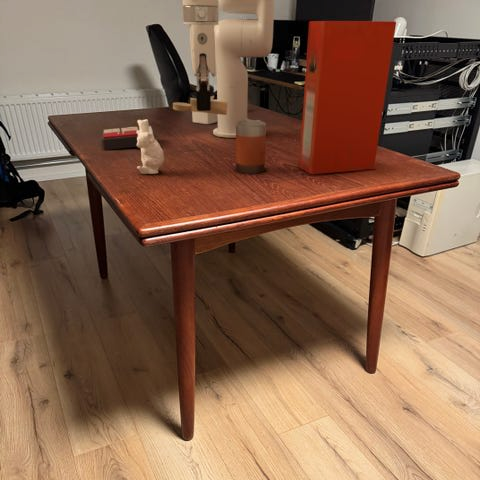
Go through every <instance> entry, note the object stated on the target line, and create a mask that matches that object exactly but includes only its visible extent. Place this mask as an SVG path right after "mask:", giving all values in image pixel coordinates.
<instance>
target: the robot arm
mask: <svg viewBox="0 0 480 480" xmlns="http://www.w3.org/2000/svg"><path fill="white" fill-rule="evenodd" d="M219 8H220V10H221V11H222V12H223V13H228V14H235V15H237V14H240V15H243V14H244V15H246V14H247V15H248V14H249V15H256V16H257V18H256V19H255V18H253V19H250V18H248V19H246V18H245V19H244V18H226V19H221V20H219ZM274 15H275V0H182V16H183V17H182V18H183V19H182V20H183V25H186V26H187V25H189V27H188V28H189V46H190V47H189V48H190V59H191V67H192V73H193V76H195V78H196V87H197V88H196V90H195V98H196V99H197V110H198V111H210V110H211V96H210V90H209V85H210V75H211V76H212V78H214V77H216V95H217V96H216V100H217V101H222V102H227V113H226V115H221V114H218V122H217V127H216V128H214V129H213V130H212V134H213V135H214V136H215V137H219V138H225V139H236V123H238V122H239V121H245V120H251V118H248V105H249V103H248V102H249V101H248V99H249V98H248V97H249V95H248V93H249V91H248V90H249V74H248V69H247V68H246V65H244V64H243V62H242V61H241V59H240V58H265V57H266V58H267V56H269V55H270V54H271V52H272V49H273V39H274V18H275V17H274ZM255 120H256V121H261V120H260V119H255Z"/></svg>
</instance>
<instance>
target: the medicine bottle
mask: <svg viewBox="0 0 480 480" xmlns="http://www.w3.org/2000/svg"><path fill="white" fill-rule="evenodd" d="M196 89H197V86H196ZM209 90H210V96H211V100H213V101H217V99H214V98H215V87H214V86H213V85H212V84H209ZM191 117H192V123H193V124H194V123H195V124H201V125H202V124H203V125H211V124H215V123H218V114H212V113H203V112H194V111H191Z"/></svg>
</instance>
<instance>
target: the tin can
mask: <svg viewBox="0 0 480 480" xmlns="http://www.w3.org/2000/svg"><path fill="white" fill-rule="evenodd" d="M256 120H257V119H255V120H254V119H250V120H245V121H239V122H238V123H236V138H235V171H236V172H238V173H240V174H243V175H244V174H245V175H255V174H256V175H258V174H261V173H264V172H265V169H266V167H265V166H266V165H265V164H266V148H267V147H266V144H267V142H266V141H267V123H266V122H265V121H263V120H260V121H256Z"/></svg>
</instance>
